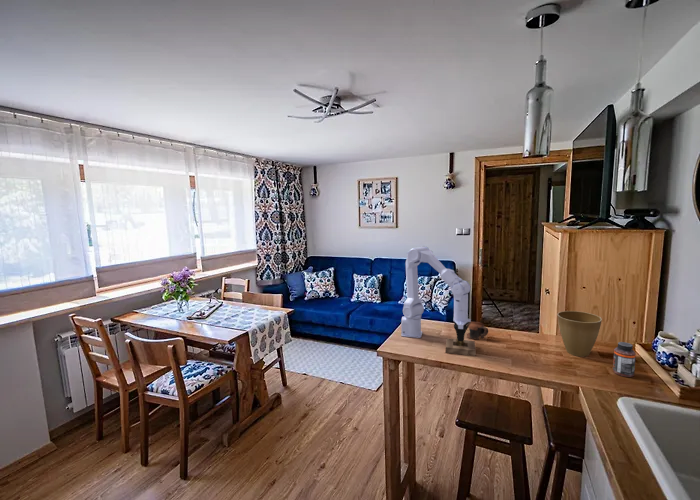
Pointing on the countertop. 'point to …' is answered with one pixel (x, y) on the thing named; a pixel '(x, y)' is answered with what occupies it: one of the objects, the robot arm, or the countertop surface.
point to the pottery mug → (476, 330)
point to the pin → (460, 342)
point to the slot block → (460, 347)
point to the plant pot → (579, 331)
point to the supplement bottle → (624, 360)
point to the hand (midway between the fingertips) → (460, 339)
